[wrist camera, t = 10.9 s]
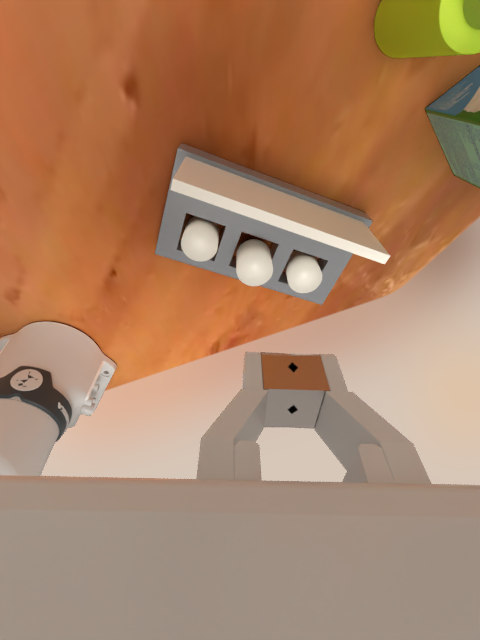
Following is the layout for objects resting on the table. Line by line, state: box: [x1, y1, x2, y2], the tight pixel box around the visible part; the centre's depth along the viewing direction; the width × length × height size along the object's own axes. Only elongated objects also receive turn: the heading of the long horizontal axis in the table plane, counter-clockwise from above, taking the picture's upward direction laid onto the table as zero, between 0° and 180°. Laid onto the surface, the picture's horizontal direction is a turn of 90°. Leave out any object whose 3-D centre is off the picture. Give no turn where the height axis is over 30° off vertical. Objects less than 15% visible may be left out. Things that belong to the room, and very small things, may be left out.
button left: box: [181, 216, 219, 262], centre depth 42 cm, size 4×4×4 cm
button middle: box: [236, 239, 273, 286], centre depth 41 cm, size 4×4×4 cm
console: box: [155, 143, 390, 305], centre depth 39 cm, size 13×24×12 cm, turn 71°
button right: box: [285, 250, 322, 293], centre depth 44 cm, size 4×4×4 cm
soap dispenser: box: [374, 0, 480, 58], centre depth 24 cm, size 6×7×20 cm
